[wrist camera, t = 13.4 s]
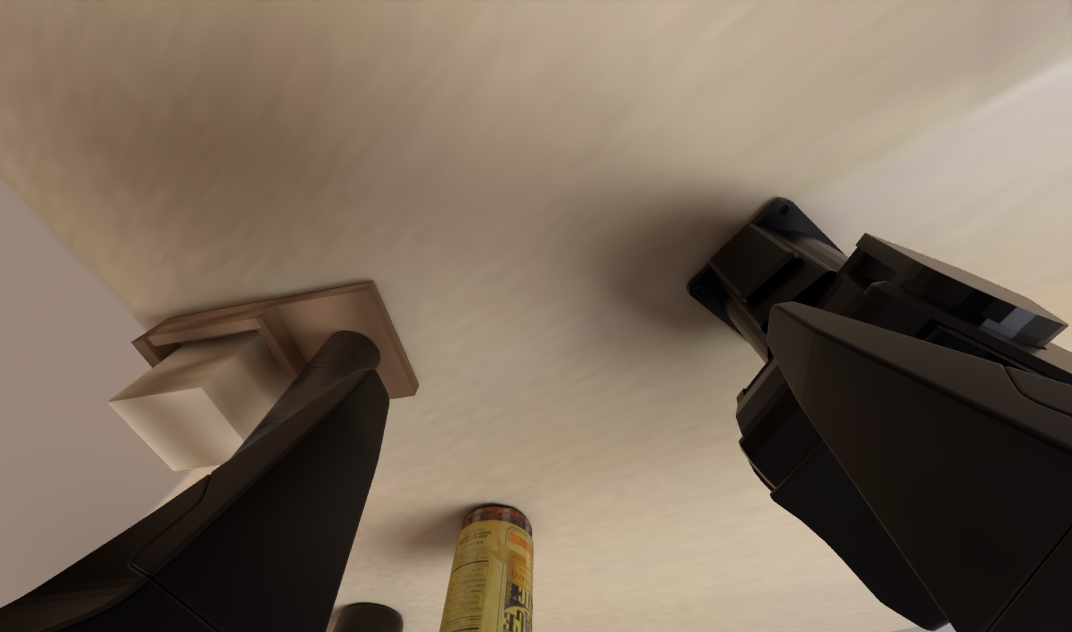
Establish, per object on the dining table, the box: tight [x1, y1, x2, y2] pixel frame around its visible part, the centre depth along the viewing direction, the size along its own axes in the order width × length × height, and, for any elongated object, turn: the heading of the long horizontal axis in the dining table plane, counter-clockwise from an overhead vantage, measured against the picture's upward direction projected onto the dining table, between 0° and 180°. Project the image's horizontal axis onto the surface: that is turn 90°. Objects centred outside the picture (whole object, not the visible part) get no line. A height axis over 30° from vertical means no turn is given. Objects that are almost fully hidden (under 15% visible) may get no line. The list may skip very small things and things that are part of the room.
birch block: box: [107, 331, 291, 471], centre depth 22 cm, size 5×5×5 cm
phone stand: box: [131, 282, 419, 459], centre depth 20 cm, size 13×8×12 cm, turn 101°
